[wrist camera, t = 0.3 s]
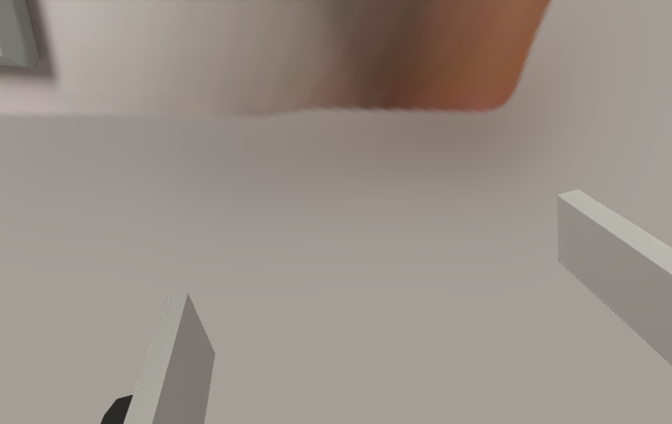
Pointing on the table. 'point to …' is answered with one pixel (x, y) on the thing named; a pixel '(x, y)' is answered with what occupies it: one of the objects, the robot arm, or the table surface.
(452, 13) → the table surface
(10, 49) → the grey box
